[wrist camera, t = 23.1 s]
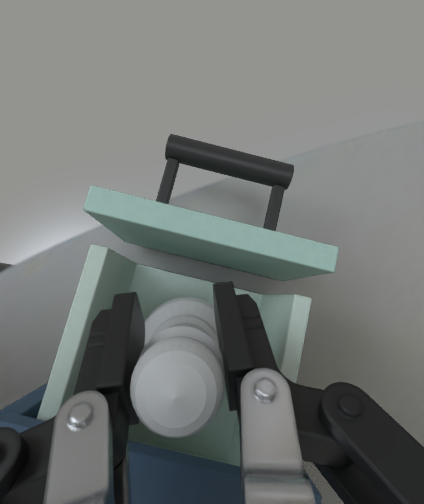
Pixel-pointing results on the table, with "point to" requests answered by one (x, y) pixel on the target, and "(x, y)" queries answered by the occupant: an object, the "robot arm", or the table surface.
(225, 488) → the blue drawer cabinet
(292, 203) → the table surface
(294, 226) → the table surface
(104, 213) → the drawer
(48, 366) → the table surface
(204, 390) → the chess piece
